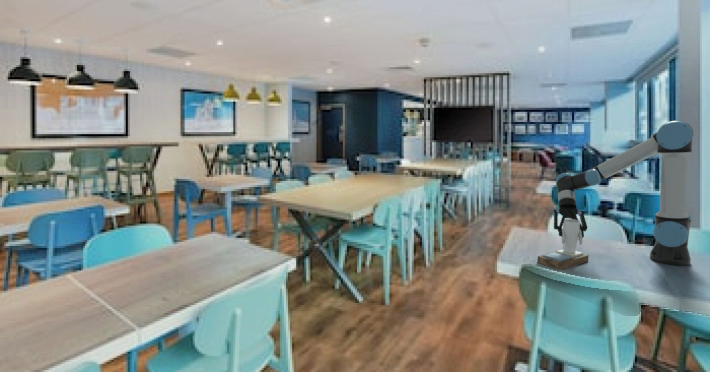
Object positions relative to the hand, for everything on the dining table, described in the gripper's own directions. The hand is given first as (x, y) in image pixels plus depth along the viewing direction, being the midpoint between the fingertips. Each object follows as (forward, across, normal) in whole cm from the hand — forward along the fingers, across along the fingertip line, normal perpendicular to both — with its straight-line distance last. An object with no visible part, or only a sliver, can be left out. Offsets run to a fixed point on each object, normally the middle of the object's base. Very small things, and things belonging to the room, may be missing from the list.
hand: (572, 242), depth 187 cm
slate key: (+9, +7, -4) cm, 12 cm away
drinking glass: (+1, 0, -7) cm, 7 cm away
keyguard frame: (+7, +3, -7) cm, 10 cm away
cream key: (+4, 0, -9) cm, 9 cm away
